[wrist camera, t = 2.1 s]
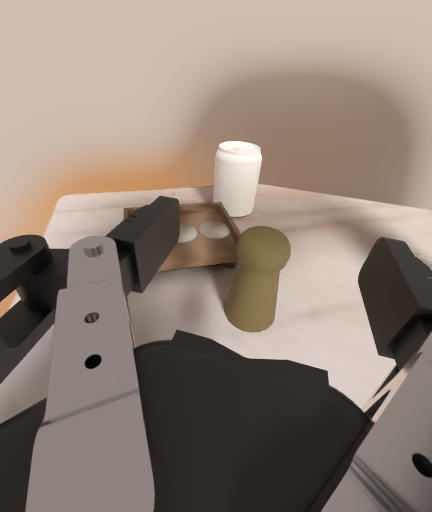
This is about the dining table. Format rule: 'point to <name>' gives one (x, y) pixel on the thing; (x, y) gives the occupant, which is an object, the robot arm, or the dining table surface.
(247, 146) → the beverage can
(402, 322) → the robot arm
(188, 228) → the wooden tray
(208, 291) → the dining table surface
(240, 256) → the olive pawn figure
